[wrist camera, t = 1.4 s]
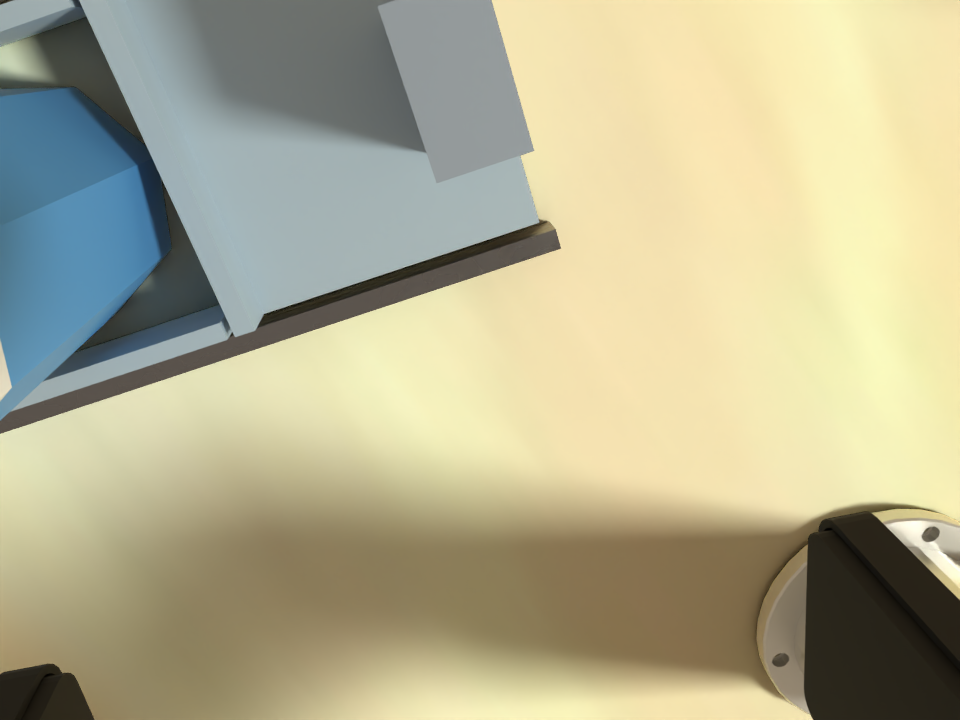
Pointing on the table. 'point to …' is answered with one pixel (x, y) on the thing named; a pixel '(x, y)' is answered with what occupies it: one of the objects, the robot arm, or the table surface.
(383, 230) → the pale blue tray
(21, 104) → the water bottle
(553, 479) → the table surface
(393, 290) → the lane rails
